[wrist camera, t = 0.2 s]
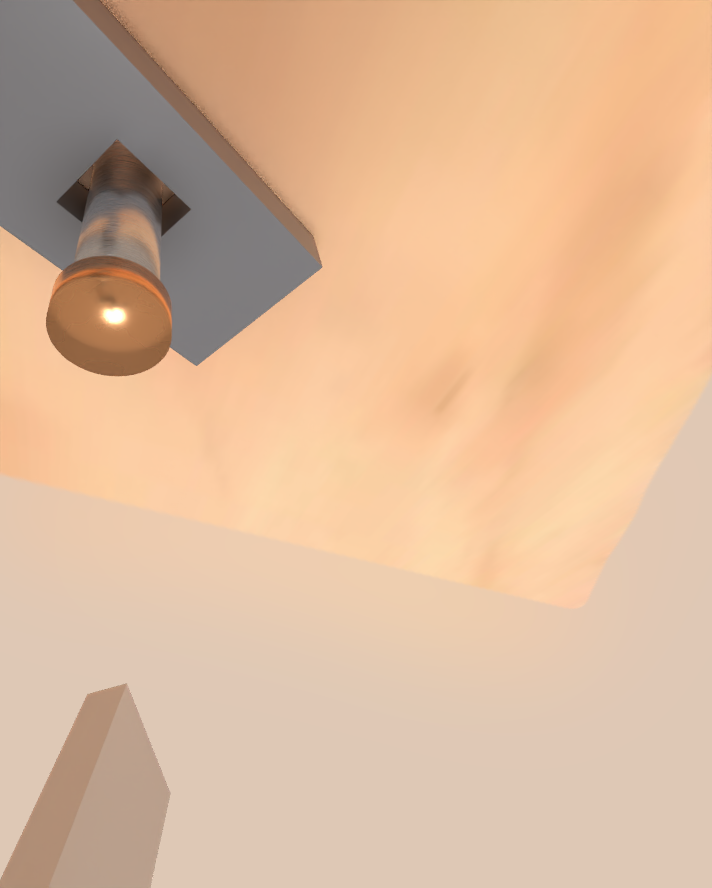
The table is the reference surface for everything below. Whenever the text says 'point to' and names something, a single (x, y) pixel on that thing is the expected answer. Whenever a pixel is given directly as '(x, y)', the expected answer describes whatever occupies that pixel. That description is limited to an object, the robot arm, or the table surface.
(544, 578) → the table surface
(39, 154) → the socket block
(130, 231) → the plug
